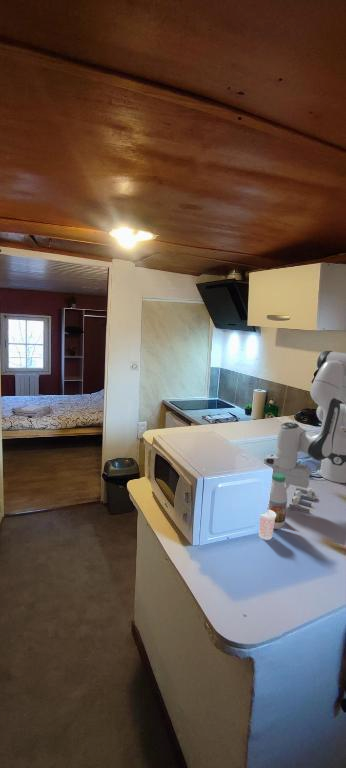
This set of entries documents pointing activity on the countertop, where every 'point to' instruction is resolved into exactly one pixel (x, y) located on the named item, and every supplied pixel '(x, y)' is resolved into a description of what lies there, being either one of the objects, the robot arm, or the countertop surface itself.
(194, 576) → the countertop surface
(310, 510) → the switch bank
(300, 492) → the tab
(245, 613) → the countertop surface
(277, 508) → the milk bottle
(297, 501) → the tab
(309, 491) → the tab
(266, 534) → the beverage cup
